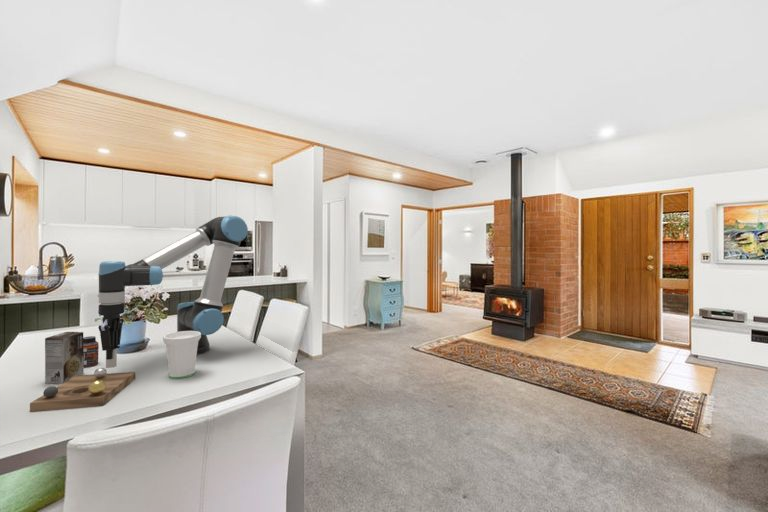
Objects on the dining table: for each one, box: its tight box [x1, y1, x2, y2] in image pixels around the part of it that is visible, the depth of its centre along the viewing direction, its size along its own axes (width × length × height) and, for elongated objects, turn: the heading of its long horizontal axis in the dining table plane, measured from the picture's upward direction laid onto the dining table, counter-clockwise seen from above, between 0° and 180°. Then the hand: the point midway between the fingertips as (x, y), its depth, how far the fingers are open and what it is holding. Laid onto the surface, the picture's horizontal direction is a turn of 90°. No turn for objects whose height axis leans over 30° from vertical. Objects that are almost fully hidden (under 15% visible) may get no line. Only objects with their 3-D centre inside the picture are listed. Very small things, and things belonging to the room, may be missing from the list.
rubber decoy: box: [43, 385, 58, 397], centre depth 103 cm, size 3×3×3 cm
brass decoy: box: [88, 380, 106, 395], centre depth 105 cm, size 4×4×4 cm
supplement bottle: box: [83, 335, 100, 368], centre depth 137 cm, size 6×6×11 cm
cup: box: [162, 331, 201, 380], centre depth 129 cm, size 12×12×15 cm
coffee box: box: [44, 331, 85, 385], centre depth 123 cm, size 9×6×16 cm
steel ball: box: [93, 367, 108, 378], centre depth 118 cm, size 3×3×3 cm
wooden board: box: [29, 371, 136, 412], centre depth 111 cm, size 22×18×2 cm
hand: (111, 366), depth 125 cm, fingers closed
